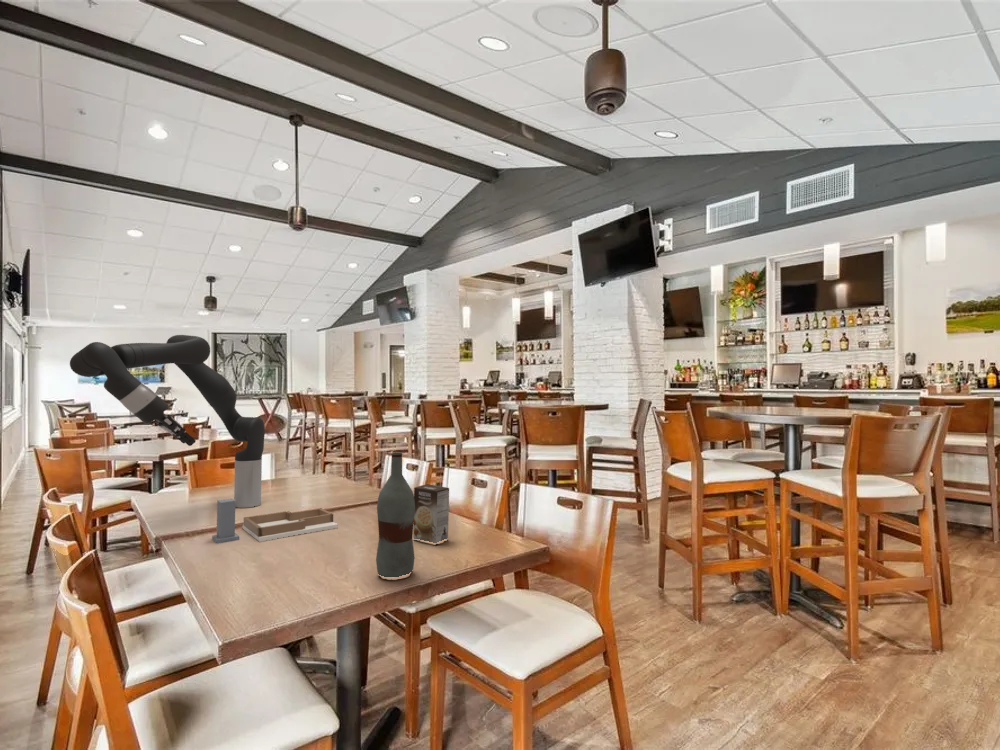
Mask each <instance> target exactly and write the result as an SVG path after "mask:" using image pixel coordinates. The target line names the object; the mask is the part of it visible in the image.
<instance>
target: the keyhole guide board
mask: <svg viewBox="0 0 1000 750" xmlns="http://www.w3.org/2000/svg"><path fill="white" fill-rule="evenodd" d="M333 528H335V529H338V528H339V524H338V523H336V522H334V513H332V512H330V511H328V510H326V509H324V508H322V507H319V508H313V509H307V510H306V509H305V510H299V511H293V512H291V511H290V510H288V511H287V510H286V511H278V512H272V513H271V512H270V513H266V514H265V513H264V514H259V515H251V516H244V517H243V524H242V529H243V530H244V531H245V532H246V533H248V534H249V535H250V536H252V537H253V538H254V539H255V540H257V542H259V543H261V542H266V540H267V541H273V540H277V538H279V539H283V537H284V538H289V537H288V536H290V537H294V536H293V535H295V536H299V535H298V534H301V535H305V534H304V533H307V534H311V533H310V532H312V533H316V531H318V532H322V530H324V531H328V529H329V530H334V529H333ZM272 539H273V540H272Z"/></svg>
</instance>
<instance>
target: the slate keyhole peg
mask: <svg viewBox="0 0 1000 750" xmlns="http://www.w3.org/2000/svg"><path fill="white" fill-rule="evenodd" d="M216 503H217V504H216V534H213V535H211V539H212V540H213V541H214V542H215V543H216V544H222V543H229V542H233V541H239V540H240V535H239V534H237V533H236V507H235V500H234V498H225V499H217V502H216Z"/></svg>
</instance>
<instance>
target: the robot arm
mask: <svg viewBox="0 0 1000 750" xmlns="http://www.w3.org/2000/svg"><path fill="white" fill-rule="evenodd" d="M210 354H211V346H210V344H209V342H208V341H207V340H206V339H205V338H204V337H200V336H197V335H188V334H187V335H186V334H175V335H172V336H170V337H168V339H167V341H166V343H164V342H163V343H160V342H159V343H158V342H132V343H119V344H115V345H112V346H110V345H108V344H106V343H103V342H100V341H94V342H90V343H89V344H87V345H85V346H84V347H83V348H82V349H80V350H79V351H78V352H76V353H74V355H73V356H72V357H71V358H70V360H69V368H70V369H71V370H72V372H73V373H75V374H76V375H78V376H81V377H84V378H94V377H99V376H104V375H105V377H106V379H105V381H104V383H103V387H104V389H105V390H106V392H107V393H109V394H110V395H111V396H113V397H114V398H115V399H116V400H118V401H119V402H120V403H121V404H122V405H123V407H125V409H127V410H128V411H129V412H130V413H132V415H134V416H135V417H136V418H138V419H139V420H140V421H141V422H142V423H143V424H145V425H149V424H151V423H153V422H155V423H157V424H156V425H157V427H159V428H160V429H163V431H164V432H166V433H168V434H170V435H172V436H174V437H175V438H176V439H177V440H178V441H179V442H181V443H182V444H185V445H187V446H189V447H190V446H191V447H192V446H193V445H194V444H195V443H196V442H197V441H196V439H195V438H194V437H193V436H191V434H189V433H188V432H187V431H186V429H185V428H184V427H183V426H182V424H181V423H180V422H178V421H177V420H176V419H175V417H173V416H172V415H170V414H167V415H166V414H165V412H166V410H168V408H169V404H168V403H167V402H166V401H164V399H163V398H161V397H160V396H159V395H158V394H156V393H155V392H154V391H153V390H152V389H151V388H149V387H148V386H146V385H145V384H144V383H143V382H142V381H140V380H139V379H138V378H137V377H136V376H135V375H133V374H132V373H131V372H130V371H129V369H137V368H143V367H150V366H158V365H166V364H167V365H169V364H174V365H175V366H177V368H179V370H180V371H181V372H182V373H183V374H185V376H186V377H187V378H188V379H189V381H190V382H192V384H193V385H194V386H195V387H196V389H197V390H198V392H199V393H200V394H201V396H203V398H204V400H205V401H206V402H207V403H208V404H209V406H210V407H212V409H213V410H214V412H215V413H216V414H217V416H218V417H219V418H220V420H221V422H222V423H223V425H224V427H225V428H226V431H227V432H228V433H229V435H230V436H231V437H232V439H234V440H235V441H237V442H247V443H246V447H245V448H244V449H242V450H239V451H236V452H235V453H234V486H233V487H234V489H233V494H234V495H233V496H234V498H233V500H235V508H239V509H241V508H254V506H255V507H258V506H260V505H261V504H262V477H263V475H262V473H263V472H262V465H263V464H262V463H263V454H264V449H265V447H264V446H265V433H266V428H265V423H264V421H263V418H261V417H255V416H254V417H253V416H251V417H250V416H242V415H241V414H240V413H239V412H238V411H237V409H236V403H237V393H236V391H235V388H233V386H232V385H231V383H230V382H229V380H227V378H226V377H225V376H223V375H222V374H220V373H219V372H218V371H216V370H215V369H213V368H212V367H210V366H208V365H207V364H206V363H204V362H206V361H207V360H208V359H209V357H210Z"/></svg>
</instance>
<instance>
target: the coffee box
mask: <svg viewBox="0 0 1000 750" xmlns="http://www.w3.org/2000/svg"><path fill="white" fill-rule="evenodd" d="M413 495H414V500H415V513H414V523H413V534H412V539H413V538H414V539H420V540H424V541H429V542H433V543H437V542H439V541H442V540H444V539H447V538H448V539H449V520H450V519H449V515H450V506H449V505H450V488H449V487H448V486H447V487H445V486H440V485H434V484H429V483H426V484H423V485H419V486H414V488H413Z"/></svg>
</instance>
